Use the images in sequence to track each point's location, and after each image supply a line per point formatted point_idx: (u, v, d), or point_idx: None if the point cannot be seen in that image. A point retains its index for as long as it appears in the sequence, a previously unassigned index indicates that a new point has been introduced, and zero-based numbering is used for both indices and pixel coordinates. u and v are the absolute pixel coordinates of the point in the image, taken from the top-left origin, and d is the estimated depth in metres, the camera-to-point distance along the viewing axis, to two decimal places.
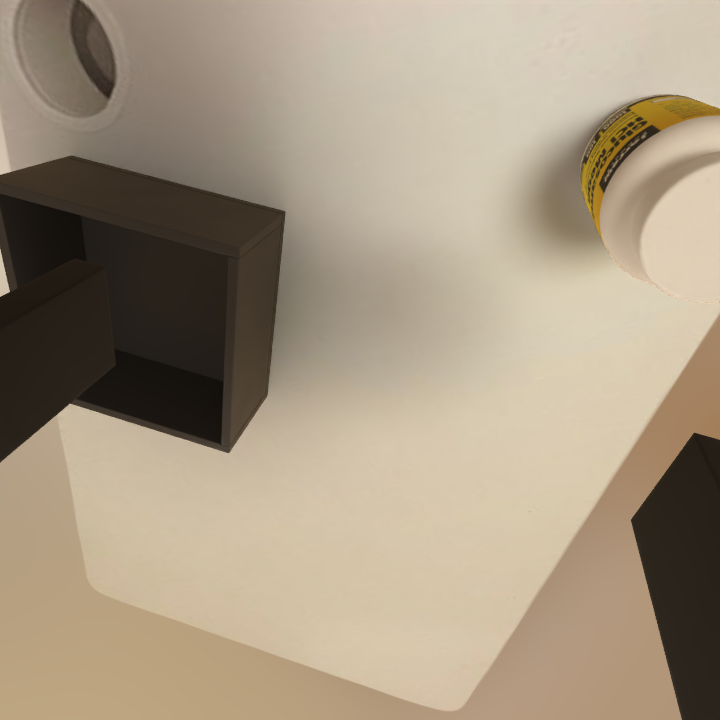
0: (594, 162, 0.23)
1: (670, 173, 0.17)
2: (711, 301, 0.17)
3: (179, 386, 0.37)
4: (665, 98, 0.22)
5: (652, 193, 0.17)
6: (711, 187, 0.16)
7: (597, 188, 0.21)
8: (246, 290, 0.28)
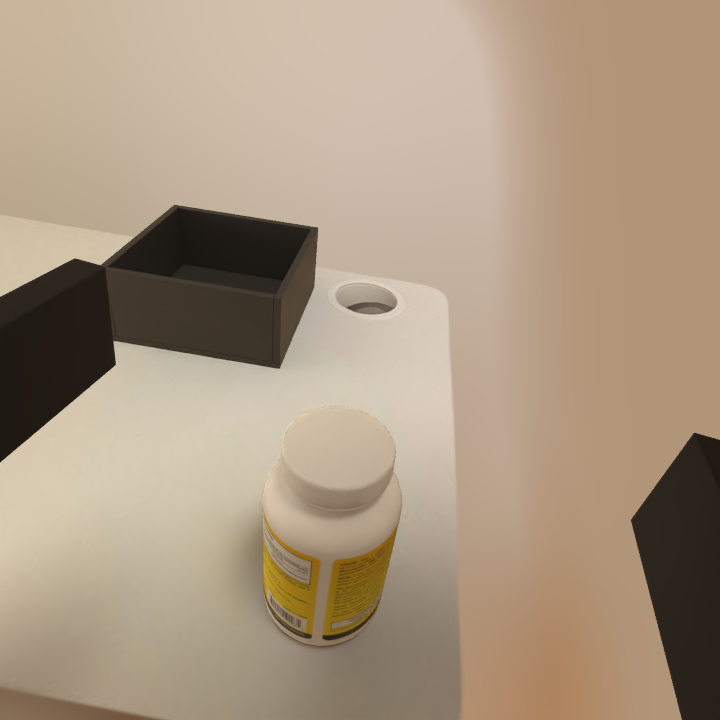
0: None
1: None
2: (283, 449, 0.21)
3: None
4: None
5: None
6: (373, 431, 0.22)
7: None
8: (242, 308, 0.39)
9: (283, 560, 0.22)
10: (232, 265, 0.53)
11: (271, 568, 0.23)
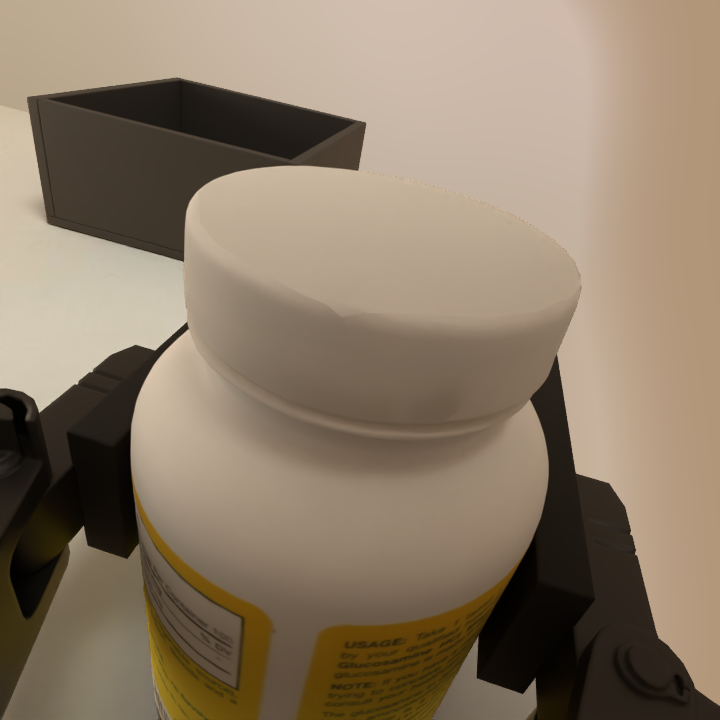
0: None
1: None
2: (194, 202, 0.06)
3: None
4: None
5: None
6: (496, 224, 0.07)
7: None
8: None
9: (164, 596, 0.07)
10: None
11: (147, 613, 0.08)
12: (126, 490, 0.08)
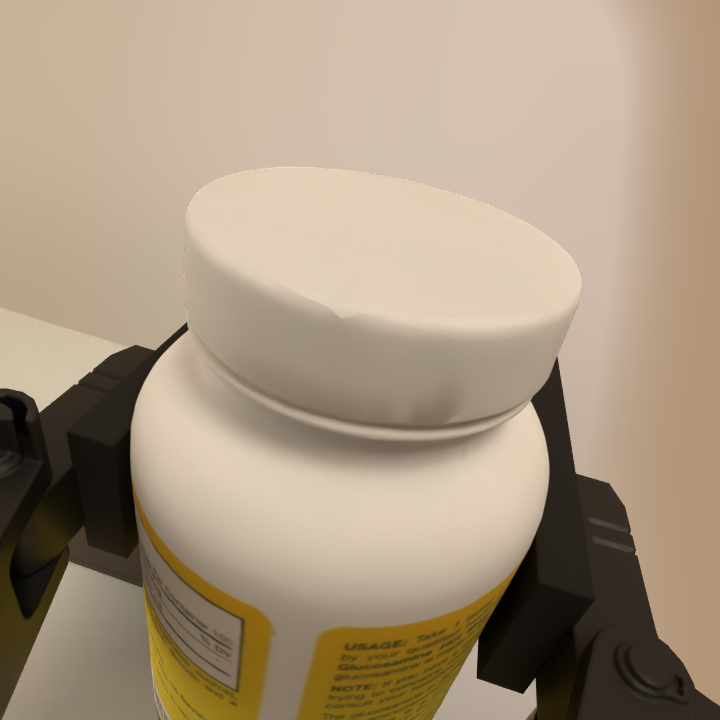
0: None
1: None
2: (193, 202, 0.06)
3: None
4: None
5: None
6: (497, 225, 0.07)
7: None
8: None
9: (163, 598, 0.07)
10: None
11: (147, 614, 0.08)
12: (126, 490, 0.08)
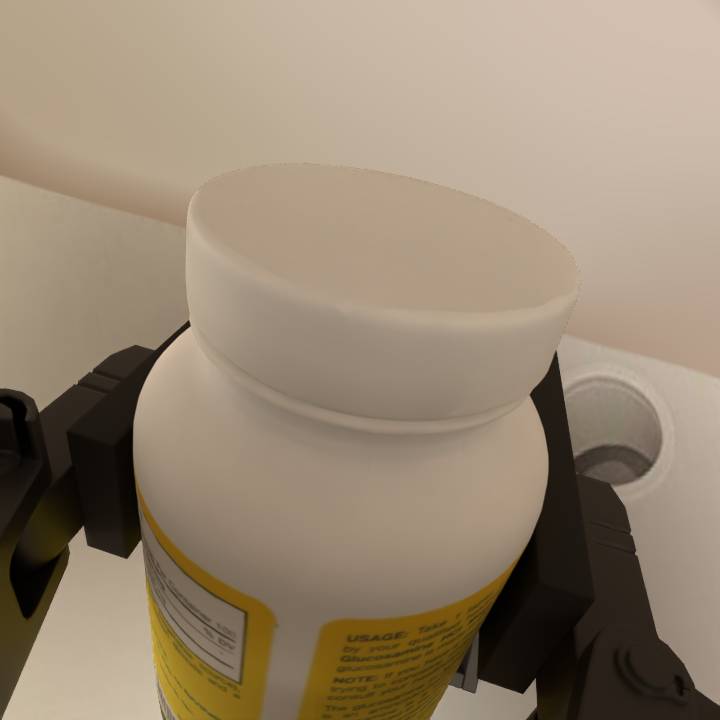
0: None
1: None
2: (195, 199, 0.06)
3: None
4: None
5: None
6: (495, 221, 0.07)
7: None
8: None
9: (166, 592, 0.07)
10: None
11: (150, 609, 0.08)
12: (126, 490, 0.08)
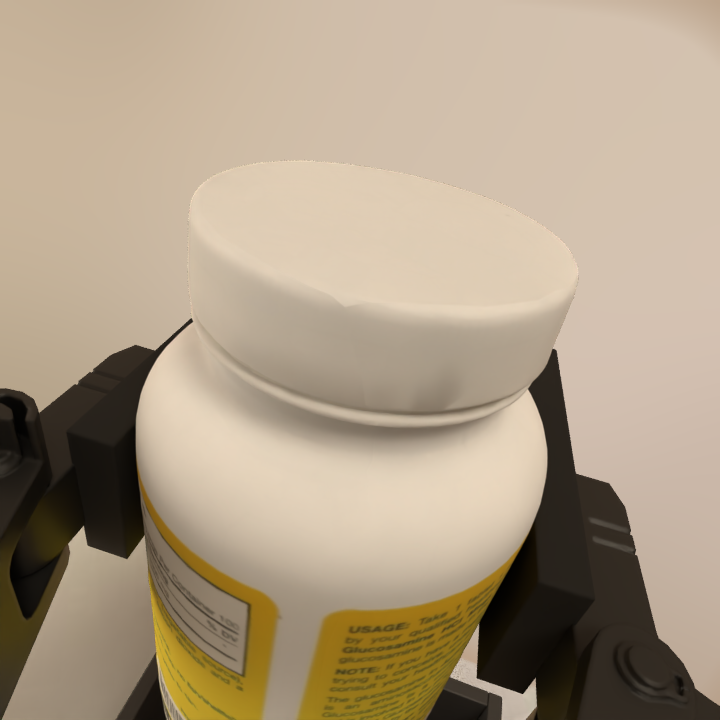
0: None
1: None
2: (197, 196, 0.06)
3: None
4: None
5: None
6: (495, 217, 0.07)
7: None
8: None
9: (170, 586, 0.07)
10: None
11: (153, 603, 0.08)
12: (126, 490, 0.08)
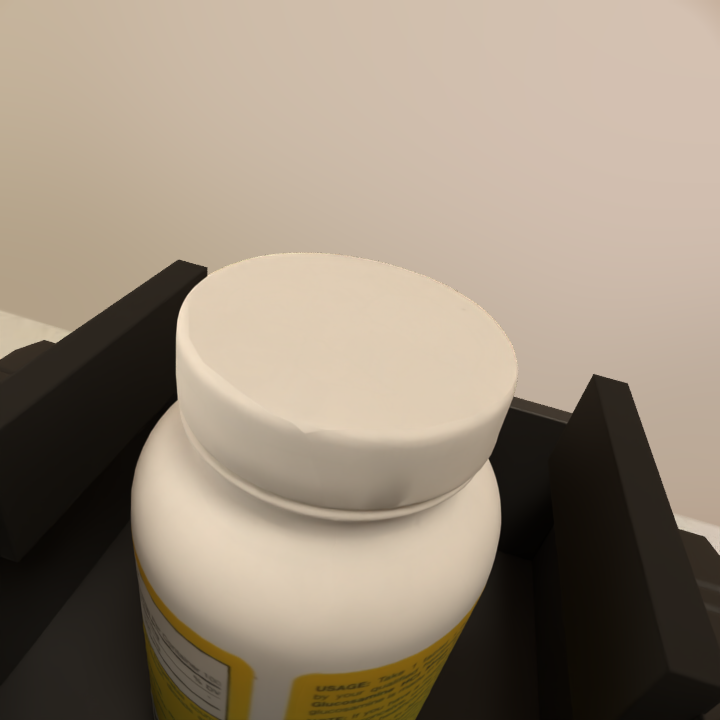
0: None
1: None
2: (184, 310, 0.07)
3: (2, 623, 0.12)
4: None
5: None
6: (451, 312, 0.08)
7: None
8: None
9: (161, 642, 0.08)
10: None
11: (147, 649, 0.09)
12: (7, 491, 0.08)
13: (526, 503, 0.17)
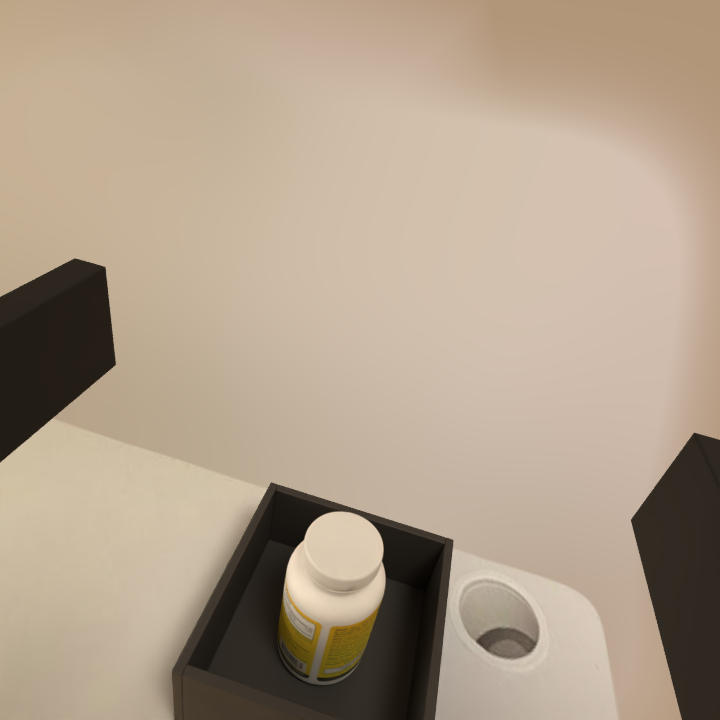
0: None
1: None
2: (305, 544, 0.30)
3: (227, 616, 0.35)
4: None
5: None
6: (369, 536, 0.31)
7: None
8: None
9: (296, 620, 0.31)
10: None
11: (286, 623, 0.32)
12: None
13: (419, 567, 0.40)
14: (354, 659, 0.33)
